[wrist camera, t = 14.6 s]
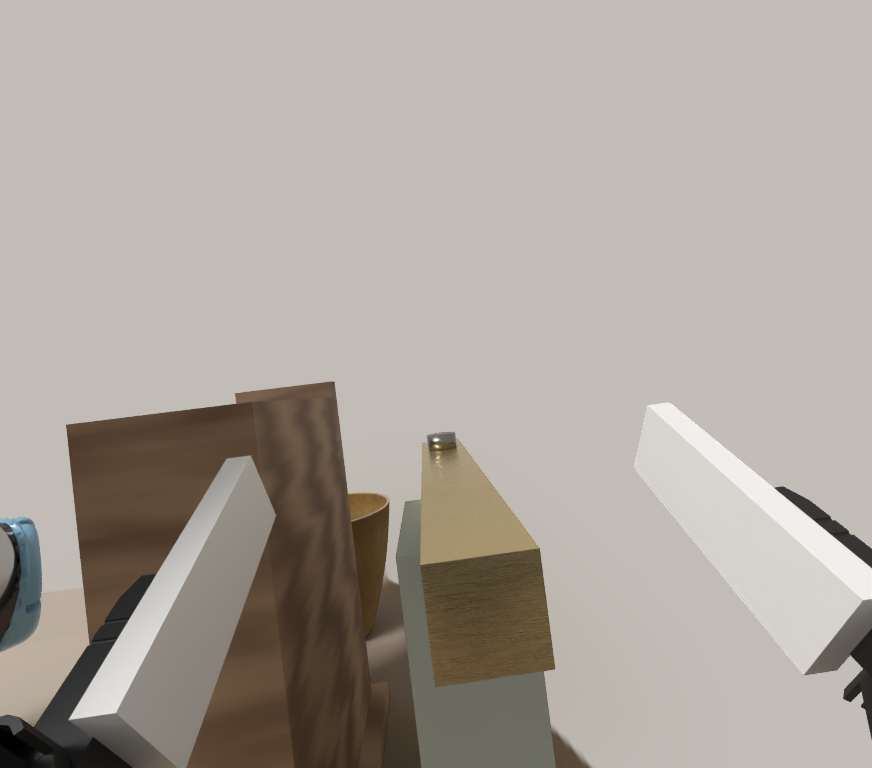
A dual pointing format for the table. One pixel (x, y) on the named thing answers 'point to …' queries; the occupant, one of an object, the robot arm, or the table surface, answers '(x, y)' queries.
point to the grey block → (466, 690)
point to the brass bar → (477, 574)
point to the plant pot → (369, 548)
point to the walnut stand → (274, 579)
